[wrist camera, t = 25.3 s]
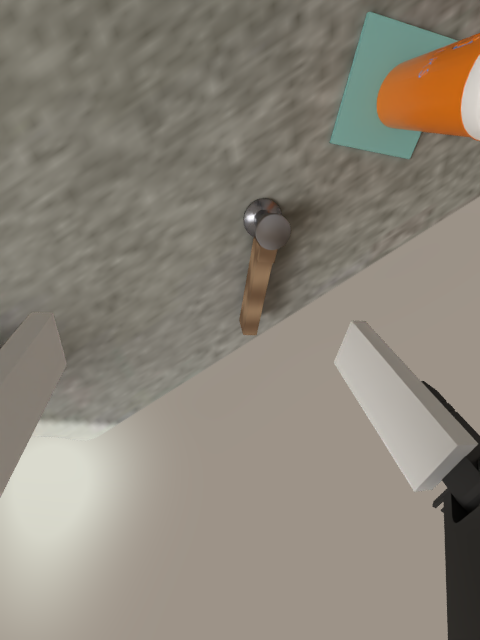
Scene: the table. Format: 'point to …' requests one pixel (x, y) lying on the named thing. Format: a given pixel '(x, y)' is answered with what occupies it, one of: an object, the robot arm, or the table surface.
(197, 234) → the table surface
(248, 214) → the grey curved piece
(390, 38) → the mat
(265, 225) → the bar
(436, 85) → the shaker bottle
